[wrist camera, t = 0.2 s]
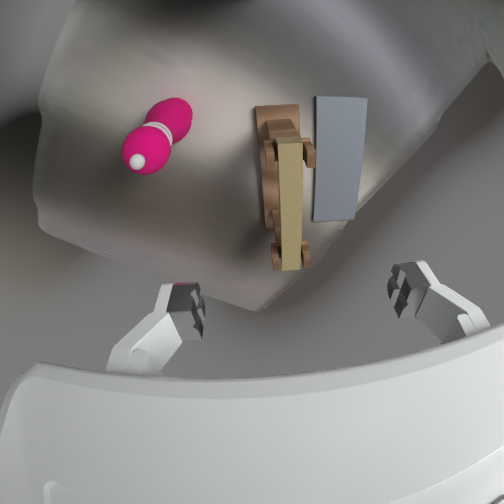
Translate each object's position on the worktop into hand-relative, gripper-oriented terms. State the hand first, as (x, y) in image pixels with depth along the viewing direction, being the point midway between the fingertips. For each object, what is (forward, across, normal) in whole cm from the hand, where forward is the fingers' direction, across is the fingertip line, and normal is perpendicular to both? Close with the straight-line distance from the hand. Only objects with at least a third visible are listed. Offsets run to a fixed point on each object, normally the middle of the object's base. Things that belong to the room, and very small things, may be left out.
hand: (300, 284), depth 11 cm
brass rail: (+28, -3, +12) cm, 31 cm away
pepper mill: (+39, +14, -2) cm, 42 cm away
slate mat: (+40, -14, +10) cm, 44 cm away
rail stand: (+40, -3, +11) cm, 42 cm away
